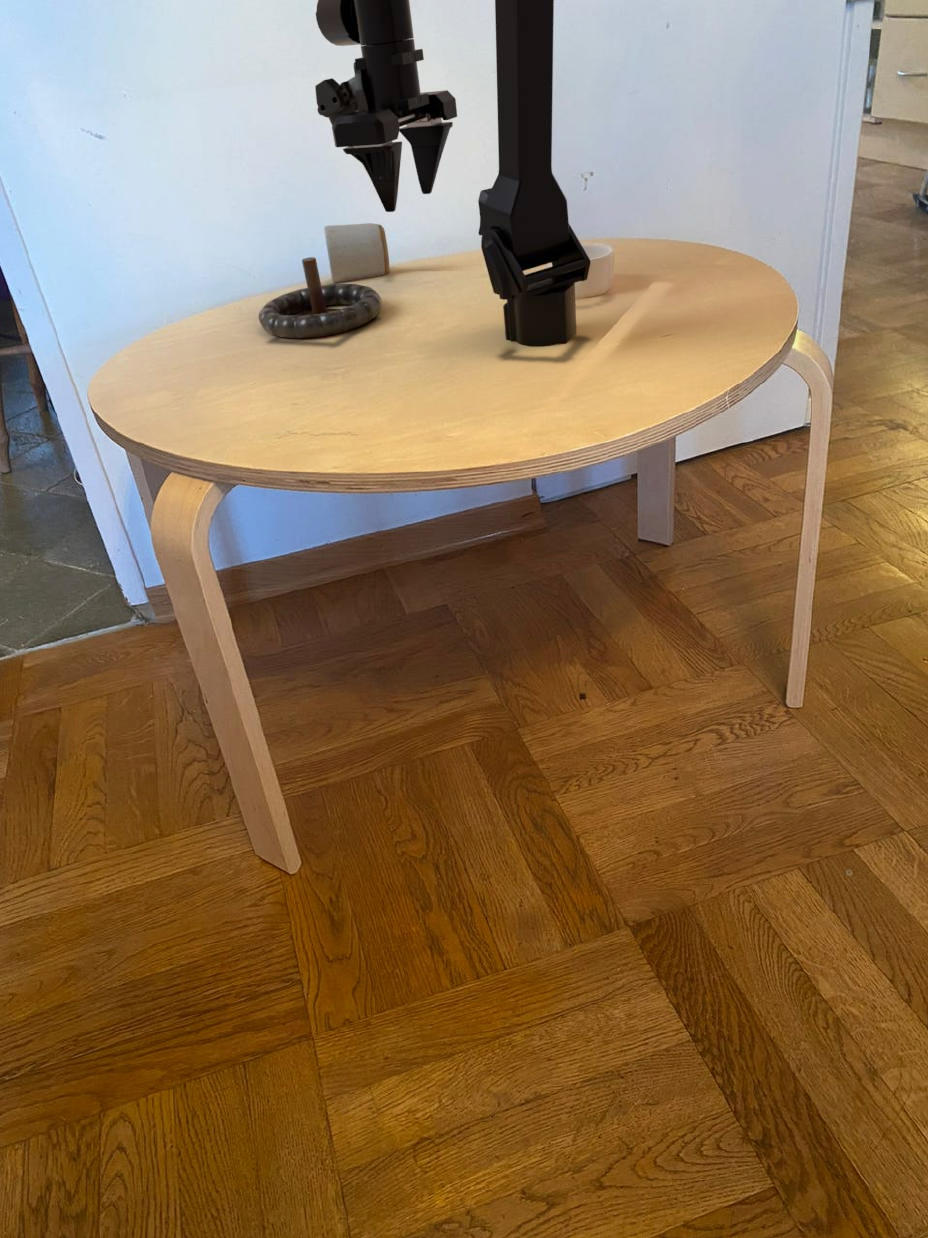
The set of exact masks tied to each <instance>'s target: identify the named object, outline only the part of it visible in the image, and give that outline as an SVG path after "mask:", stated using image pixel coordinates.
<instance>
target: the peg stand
mask: <svg viewBox="0 0 928 1238" xmlns="http://www.w3.org/2000/svg"><path fill="white" fill-rule="evenodd" d="M301 264H302V269H303V272H304V277H305V283H306V288H308V292H309V297H310V302H311V307H312V308H311V309H306V310H304V311H303V312H301V313H299V314H297V316H303V315H314V314H321V313H326V312H331V311H335V310H339V309H340V308H329V307H328V308H327V306H325V302H324V297H323V292H322V287H321V285H322V282H321V276H320V273H319V268H318V263H317V257H313V256H311V257H305V258H302V260H301ZM334 335H335V334H331V335H330V336H334Z"/></svg>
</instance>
